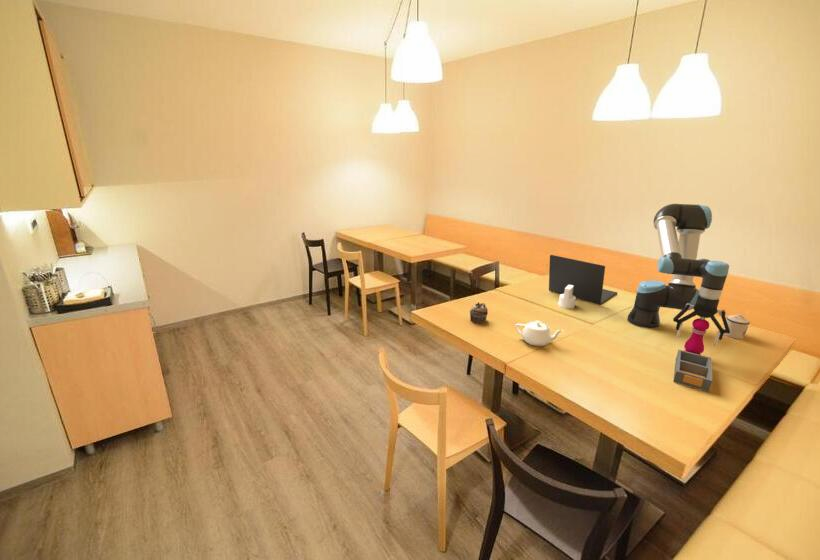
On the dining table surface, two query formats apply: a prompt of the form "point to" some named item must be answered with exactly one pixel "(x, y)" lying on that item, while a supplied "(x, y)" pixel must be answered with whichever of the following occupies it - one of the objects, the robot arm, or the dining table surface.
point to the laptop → (578, 279)
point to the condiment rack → (693, 370)
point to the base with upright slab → (567, 298)
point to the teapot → (537, 333)
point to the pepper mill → (697, 336)
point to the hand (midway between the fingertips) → (695, 340)
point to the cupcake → (478, 313)
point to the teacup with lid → (737, 326)
